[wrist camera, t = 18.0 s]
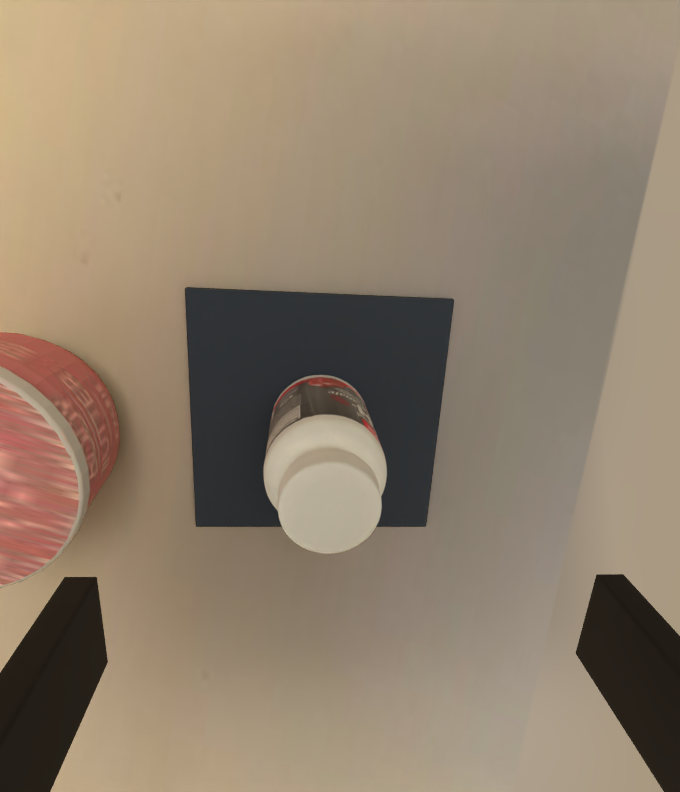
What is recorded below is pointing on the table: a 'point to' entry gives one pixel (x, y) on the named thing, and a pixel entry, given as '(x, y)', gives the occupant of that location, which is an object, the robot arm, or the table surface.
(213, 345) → the mat
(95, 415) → the container
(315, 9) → the table surface
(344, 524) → the pill bottle
